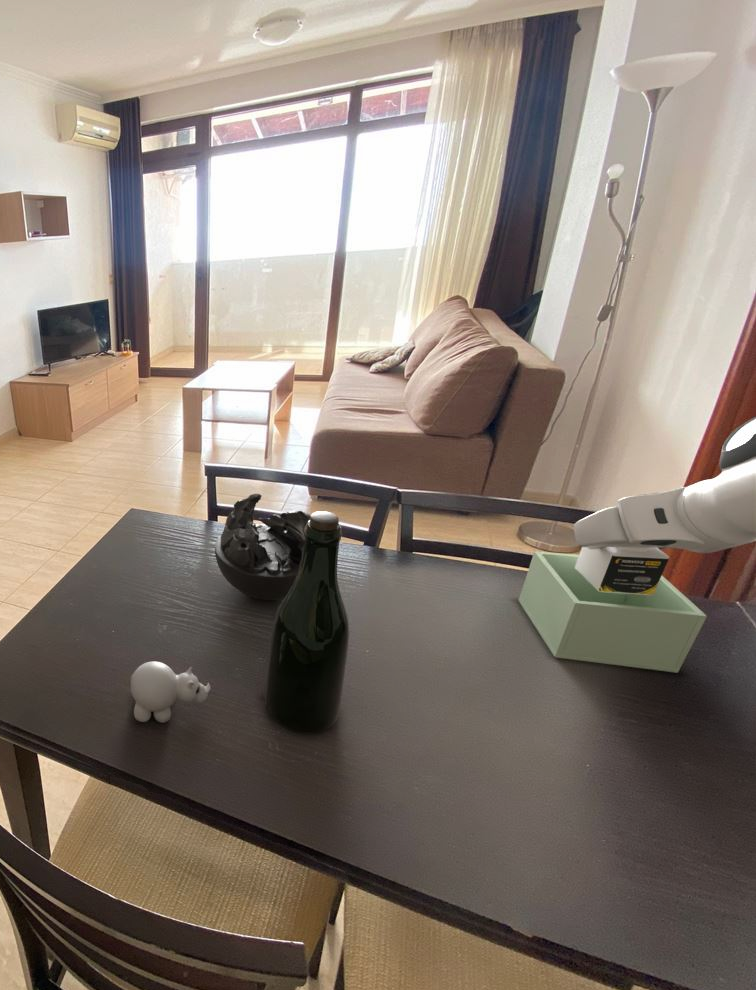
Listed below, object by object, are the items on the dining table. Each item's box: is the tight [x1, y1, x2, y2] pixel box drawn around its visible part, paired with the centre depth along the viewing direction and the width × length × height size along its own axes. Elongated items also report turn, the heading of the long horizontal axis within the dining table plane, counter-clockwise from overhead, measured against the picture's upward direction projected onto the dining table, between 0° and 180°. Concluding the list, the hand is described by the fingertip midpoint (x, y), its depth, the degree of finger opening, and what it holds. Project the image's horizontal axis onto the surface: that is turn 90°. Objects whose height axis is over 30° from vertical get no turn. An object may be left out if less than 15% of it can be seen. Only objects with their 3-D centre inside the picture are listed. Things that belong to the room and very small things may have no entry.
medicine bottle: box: [575, 547, 670, 595], centre depth 84 cm, size 7×7×12 cm
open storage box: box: [518, 550, 708, 674], centre depth 89 cm, size 16×16×11 cm
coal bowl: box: [214, 492, 311, 601], centre depth 105 cm, size 20×20×19 cm
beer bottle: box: [264, 510, 350, 734], centre depth 74 cm, size 10×10×33 cm
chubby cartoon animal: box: [129, 660, 212, 724], centre depth 81 cm, size 7×12×8 cm, turn 83°
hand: (622, 544), depth 84 cm, fingers closed on medicine bottle, 7 cm apart
